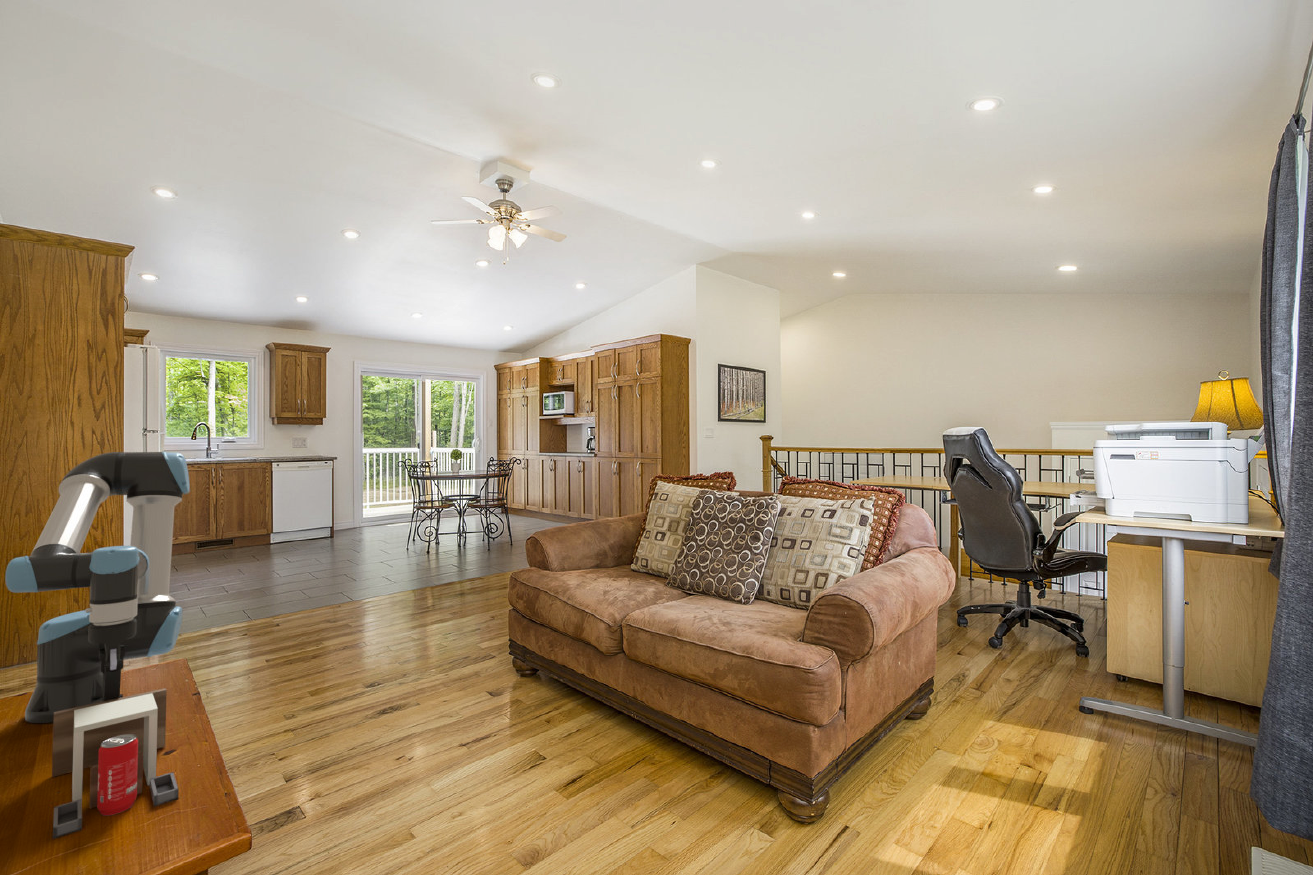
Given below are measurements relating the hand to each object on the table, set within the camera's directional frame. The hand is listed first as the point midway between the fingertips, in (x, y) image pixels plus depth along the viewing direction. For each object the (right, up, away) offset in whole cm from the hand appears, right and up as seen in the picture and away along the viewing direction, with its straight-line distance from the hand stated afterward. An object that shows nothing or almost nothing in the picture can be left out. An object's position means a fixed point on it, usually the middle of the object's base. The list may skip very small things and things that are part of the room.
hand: (109, 733), depth 124 cm
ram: (+10, -4, -10) cm, 14 cm away
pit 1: (+14, -4, -23) cm, 28 cm away
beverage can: (+19, -4, -19) cm, 27 cm away
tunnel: (+12, -4, -11) cm, 17 cm away
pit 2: (+23, -4, -14) cm, 28 cm away
